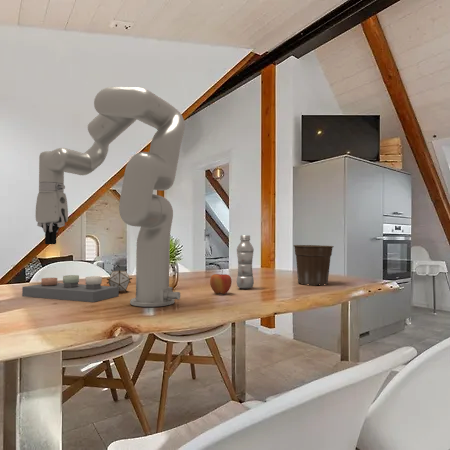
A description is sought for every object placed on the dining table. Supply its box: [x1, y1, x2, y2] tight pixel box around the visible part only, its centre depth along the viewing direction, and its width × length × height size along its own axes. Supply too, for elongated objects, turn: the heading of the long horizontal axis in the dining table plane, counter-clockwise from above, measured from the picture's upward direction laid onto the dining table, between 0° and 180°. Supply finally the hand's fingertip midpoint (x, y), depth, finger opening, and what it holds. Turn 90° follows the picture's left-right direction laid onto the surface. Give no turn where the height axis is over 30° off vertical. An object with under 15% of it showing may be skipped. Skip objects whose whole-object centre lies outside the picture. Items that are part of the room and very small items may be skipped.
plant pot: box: [293, 244, 334, 286], centre depth 154 cm, size 16×16×16 cm
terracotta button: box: [40, 277, 58, 286], centre depth 122 cm, size 5×5×5 cm
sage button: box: [62, 274, 80, 288], centre depth 119 cm, size 5×5×5 cm
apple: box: [209, 270, 232, 295], centre depth 125 cm, size 7×7×8 cm
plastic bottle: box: [236, 234, 255, 290], centre depth 138 cm, size 6×7×20 cm
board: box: [21, 282, 120, 303], centre depth 119 cm, size 28×12×3 cm, turn 70°
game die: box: [106, 268, 133, 293], centre depth 128 cm, size 9×8×10 cm
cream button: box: [84, 275, 103, 290], centre depth 116 cm, size 5×5×5 cm
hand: (50, 244), depth 122 cm, fingers closed
